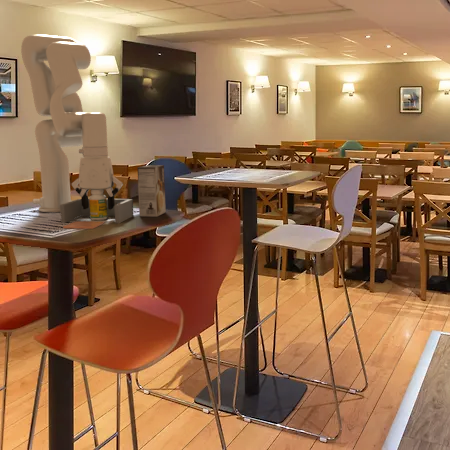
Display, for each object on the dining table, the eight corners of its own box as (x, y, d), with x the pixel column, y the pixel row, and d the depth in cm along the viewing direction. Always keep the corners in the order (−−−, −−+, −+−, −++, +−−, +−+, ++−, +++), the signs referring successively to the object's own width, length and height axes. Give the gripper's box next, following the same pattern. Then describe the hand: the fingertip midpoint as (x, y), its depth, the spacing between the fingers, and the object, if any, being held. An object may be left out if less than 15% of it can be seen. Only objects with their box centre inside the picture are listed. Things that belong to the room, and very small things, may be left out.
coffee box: (148, 212, 199) (146, 165, 196) (166, 212, 198) (164, 165, 195) (138, 216, 190) (136, 166, 187) (157, 216, 189) (156, 166, 186)
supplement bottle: (98, 217, 190) (96, 187, 188) (111, 218, 187) (109, 188, 186) (86, 219, 185) (85, 189, 183) (99, 220, 183) (98, 190, 181)
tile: (63, 228, 170) (63, 226, 170) (75, 223, 178) (75, 221, 178) (93, 228, 168) (93, 226, 168) (103, 223, 177) (103, 221, 177)
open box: (61, 222, 180) (60, 205, 179) (79, 215, 194) (78, 198, 193) (119, 223, 177) (118, 205, 176) (133, 215, 192) (132, 199, 191)
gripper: (64, 153, 180) (67, 210, 183) (118, 153, 178) (121, 210, 181) (73, 152, 187) (76, 207, 190) (126, 151, 185) (128, 207, 188)
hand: (98, 208), depth 186 cm, fingers open, 7 cm apart
